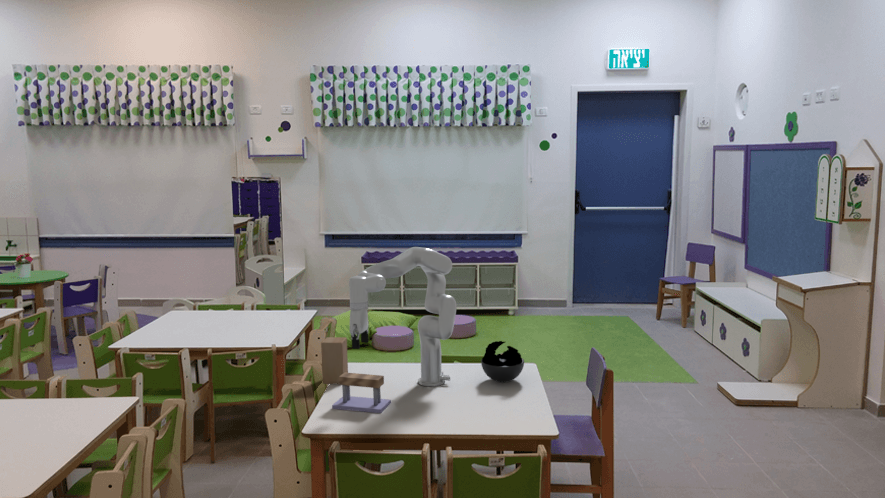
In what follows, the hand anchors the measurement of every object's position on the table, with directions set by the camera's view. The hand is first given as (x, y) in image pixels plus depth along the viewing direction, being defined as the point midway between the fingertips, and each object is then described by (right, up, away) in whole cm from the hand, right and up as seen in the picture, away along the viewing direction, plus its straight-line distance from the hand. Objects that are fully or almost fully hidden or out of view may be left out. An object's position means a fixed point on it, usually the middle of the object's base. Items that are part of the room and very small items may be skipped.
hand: (360, 345), depth 291 cm
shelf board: (0, -17, +2) cm, 17 cm away
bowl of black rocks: (+63, -21, +32) cm, 73 cm away
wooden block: (-16, -22, +36) cm, 46 cm away
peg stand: (0, -26, +3) cm, 26 cm away
